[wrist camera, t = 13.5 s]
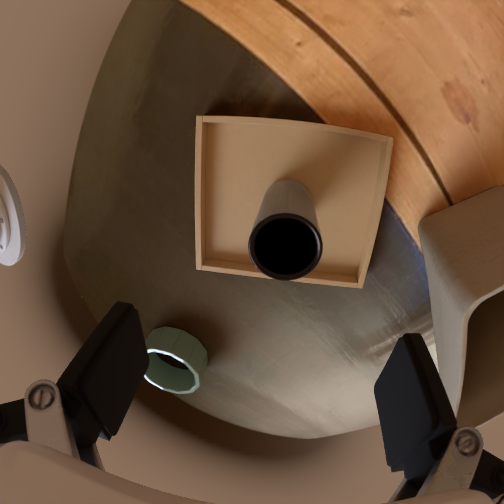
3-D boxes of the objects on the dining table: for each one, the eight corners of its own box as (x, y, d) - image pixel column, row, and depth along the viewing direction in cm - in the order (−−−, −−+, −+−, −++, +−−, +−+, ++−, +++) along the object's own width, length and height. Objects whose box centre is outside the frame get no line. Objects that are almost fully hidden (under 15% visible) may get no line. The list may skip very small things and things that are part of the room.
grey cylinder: (314, 180, 25) (327, 216, 16) (309, 226, 27) (318, 284, 18) (264, 176, 25) (248, 210, 16) (262, 223, 27) (247, 278, 18)
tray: (201, 260, 31) (196, 269, 29) (203, 115, 24) (196, 115, 22) (358, 278, 29) (362, 288, 27) (386, 136, 22) (394, 137, 20)
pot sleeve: (153, 364, 40) (143, 384, 36) (143, 321, 36) (129, 342, 32) (209, 376, 39) (201, 399, 35) (206, 333, 35) (196, 358, 31)
